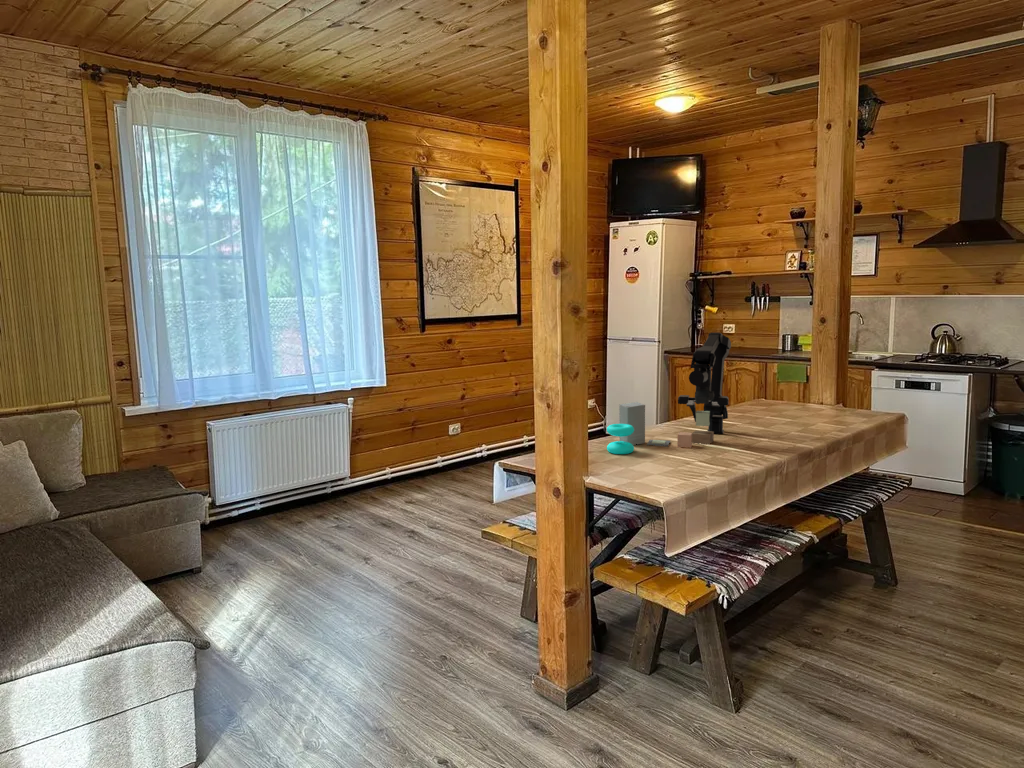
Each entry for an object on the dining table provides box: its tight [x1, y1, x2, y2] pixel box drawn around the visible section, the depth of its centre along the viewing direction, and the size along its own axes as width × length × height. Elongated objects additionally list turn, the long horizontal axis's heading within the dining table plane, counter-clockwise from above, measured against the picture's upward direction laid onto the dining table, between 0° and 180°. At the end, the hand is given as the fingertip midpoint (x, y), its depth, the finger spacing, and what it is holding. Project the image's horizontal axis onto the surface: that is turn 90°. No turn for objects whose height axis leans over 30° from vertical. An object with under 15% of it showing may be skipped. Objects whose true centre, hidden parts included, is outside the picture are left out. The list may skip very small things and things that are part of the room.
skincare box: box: [618, 401, 646, 446], centre depth 275 cm, size 8×7×16 cm
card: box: [646, 439, 671, 447], centre depth 275 cm, size 8×8×1 cm
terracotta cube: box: [676, 431, 693, 449], centre depth 269 cm, size 5×5×5 cm
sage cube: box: [695, 410, 710, 427], centre depth 275 cm, size 5×5×5 cm
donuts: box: [606, 423, 635, 455], centre depth 262 cm, size 10×10×10 cm
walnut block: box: [691, 430, 715, 445], centre depth 276 cm, size 7×7×4 cm
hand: (702, 422), depth 275 cm, fingers closed on sage cube, 5 cm apart
